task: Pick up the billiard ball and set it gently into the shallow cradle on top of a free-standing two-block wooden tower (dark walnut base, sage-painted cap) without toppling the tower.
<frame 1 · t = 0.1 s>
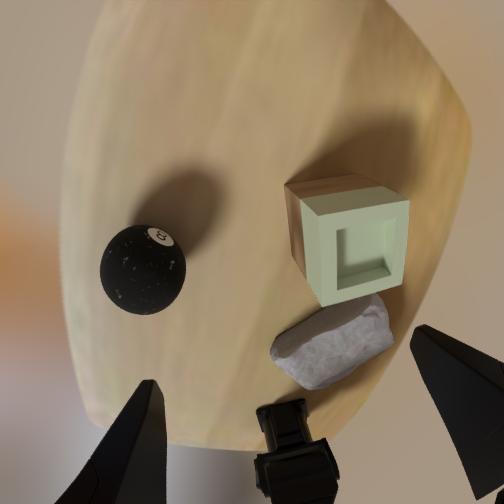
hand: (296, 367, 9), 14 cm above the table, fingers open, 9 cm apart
stone block: (333, 334, 29), on the table
billiard ball: (150, 249, 22), on the table
tower cap: (345, 233, 19), point 4 cm above the table, touching tower base
tower base: (323, 214, 23), on the table, touching tower cap
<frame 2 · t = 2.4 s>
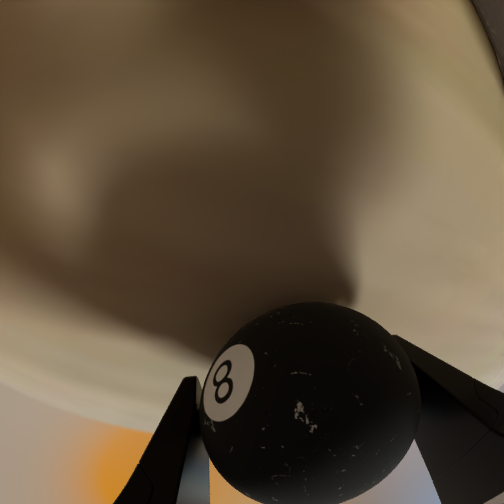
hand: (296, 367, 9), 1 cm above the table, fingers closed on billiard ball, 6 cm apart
billiard ball: (285, 336, 10), on the table, touching gripper
when the fingers open (9 cm above the table, at t = 6.2 s): billiard ball stays where it is, resting on tower cap.
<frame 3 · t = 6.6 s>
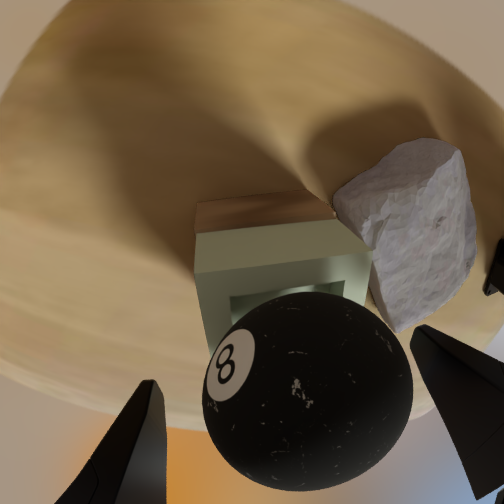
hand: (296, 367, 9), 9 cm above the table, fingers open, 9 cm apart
stone block: (408, 225, 18), on the table
billiard ball: (284, 327, 10), point 7 cm above the table, touching tower cap
tower cap: (271, 286, 13), point 4 cm above the table, touching billiard ball, tower base
tower base: (257, 245, 17), on the table, touching tower cap
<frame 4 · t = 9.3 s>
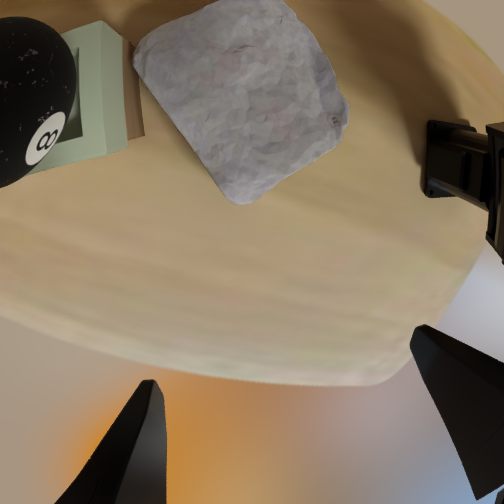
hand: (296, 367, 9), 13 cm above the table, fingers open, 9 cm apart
stone block: (248, 87, 16), on the table
billiard ball: (40, 100, 8), point 7 cm above the table, touching tower cap
tower cap: (71, 103, 11), point 4 cm above the table, touching billiard ball, tower base
tower base: (96, 102, 14), on the table, touching tower cap
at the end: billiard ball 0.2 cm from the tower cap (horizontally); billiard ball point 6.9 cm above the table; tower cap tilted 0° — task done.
